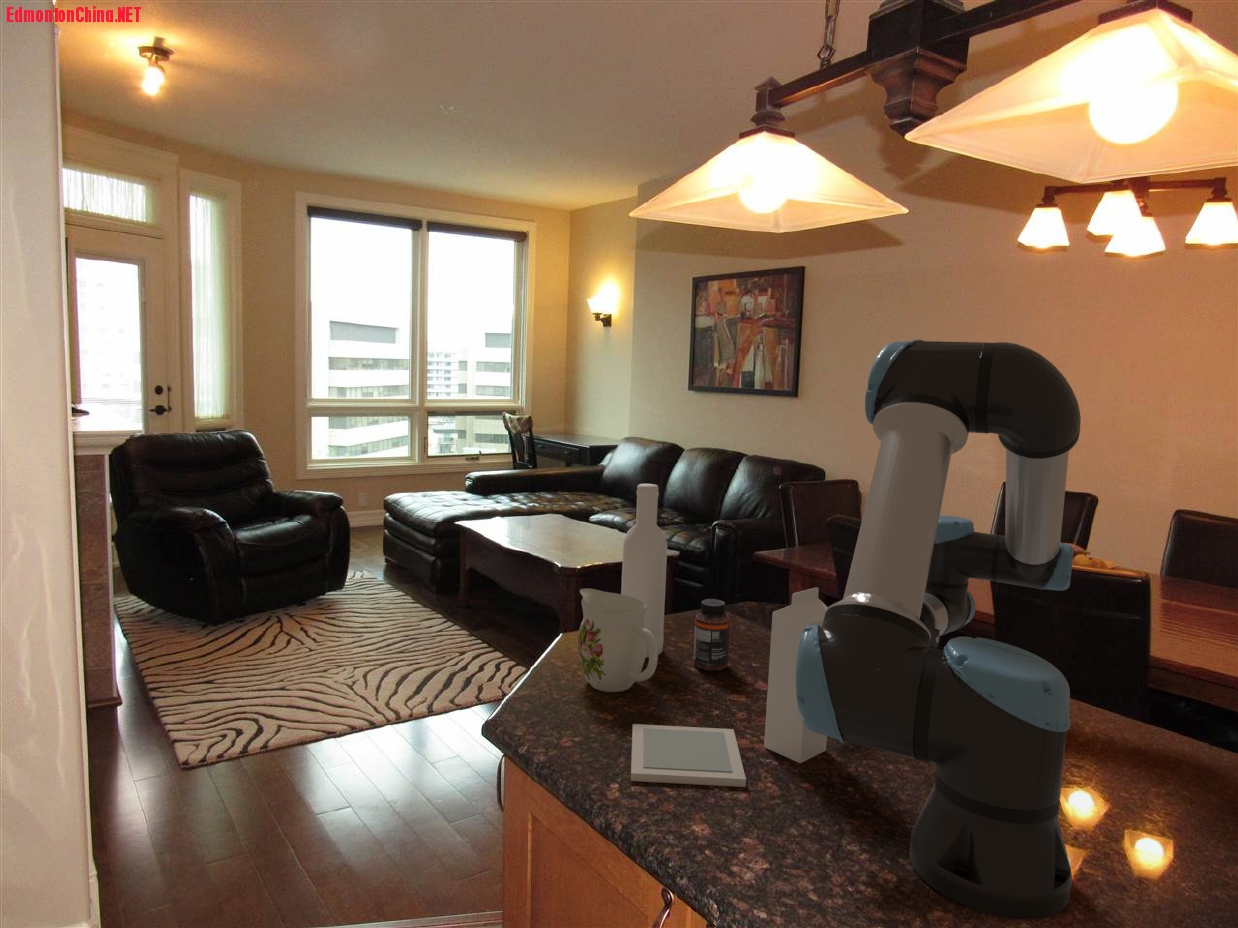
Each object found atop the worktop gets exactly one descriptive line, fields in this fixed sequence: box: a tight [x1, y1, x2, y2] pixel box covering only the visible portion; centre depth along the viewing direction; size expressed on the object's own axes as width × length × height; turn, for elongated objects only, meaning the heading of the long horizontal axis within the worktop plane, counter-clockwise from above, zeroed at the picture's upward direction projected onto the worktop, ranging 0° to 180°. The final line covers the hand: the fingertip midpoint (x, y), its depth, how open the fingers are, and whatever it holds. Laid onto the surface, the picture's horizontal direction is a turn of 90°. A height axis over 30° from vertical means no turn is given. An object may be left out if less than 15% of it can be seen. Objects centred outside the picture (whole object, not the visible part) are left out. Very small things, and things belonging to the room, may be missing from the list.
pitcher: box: [577, 587, 659, 693], centre depth 130 cm, size 11×18×14 cm, turn 41°
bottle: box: [620, 483, 668, 659], centre depth 146 cm, size 8×8×30 cm
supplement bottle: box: [693, 598, 731, 672], centre depth 140 cm, size 6×6×11 cm
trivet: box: [630, 723, 747, 788], centre depth 107 cm, size 14×14×1 cm
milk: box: [763, 586, 829, 764], centre depth 110 cm, size 6×6×22 cm
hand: (840, 648), depth 116 cm, fingers open, 13 cm apart
